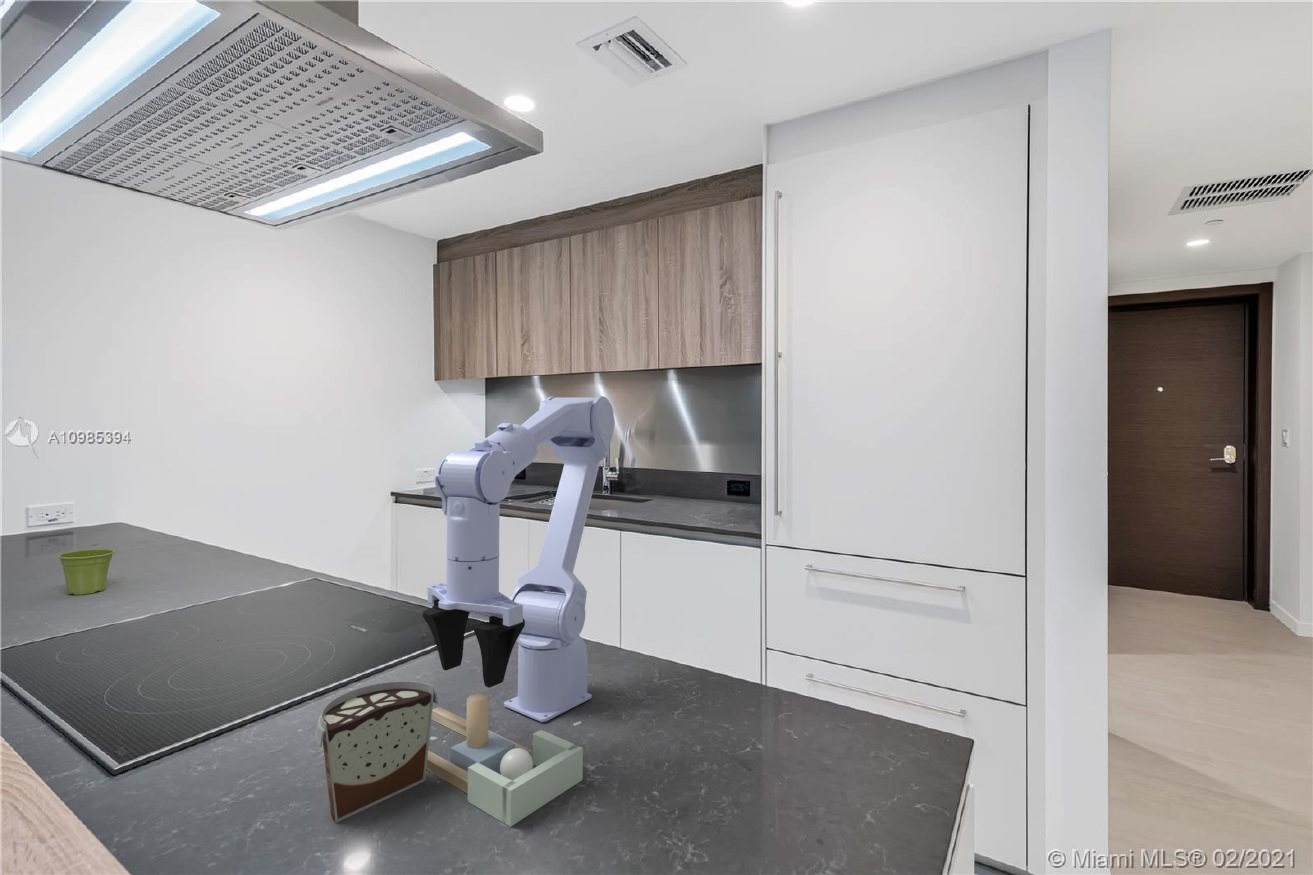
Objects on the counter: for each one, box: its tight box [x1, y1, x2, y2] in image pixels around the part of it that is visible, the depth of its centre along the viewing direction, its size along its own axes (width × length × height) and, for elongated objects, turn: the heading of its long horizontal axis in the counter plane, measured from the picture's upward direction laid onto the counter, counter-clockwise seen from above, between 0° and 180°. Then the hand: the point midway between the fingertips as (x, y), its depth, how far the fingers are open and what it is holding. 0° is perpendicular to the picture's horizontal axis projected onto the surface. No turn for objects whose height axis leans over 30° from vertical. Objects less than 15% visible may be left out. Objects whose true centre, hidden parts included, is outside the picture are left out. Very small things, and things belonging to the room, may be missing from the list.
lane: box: [426, 706, 533, 795], centre depth 73 cm, size 8×18×1 cm, turn 54°
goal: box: [467, 729, 584, 828], centre depth 65 cm, size 10×7×4 cm, turn 143°
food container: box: [314, 680, 439, 823], centre depth 65 cm, size 12×6×10 cm, turn 141°
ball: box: [499, 748, 534, 781], centre depth 67 cm, size 4×4×4 cm
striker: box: [449, 693, 515, 774], centre depth 70 cm, size 5×5×8 cm
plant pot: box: [57, 548, 116, 596], centre depth 138 cm, size 9×9×9 cm
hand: (472, 675), depth 70 cm, fingers open, 7 cm apart
